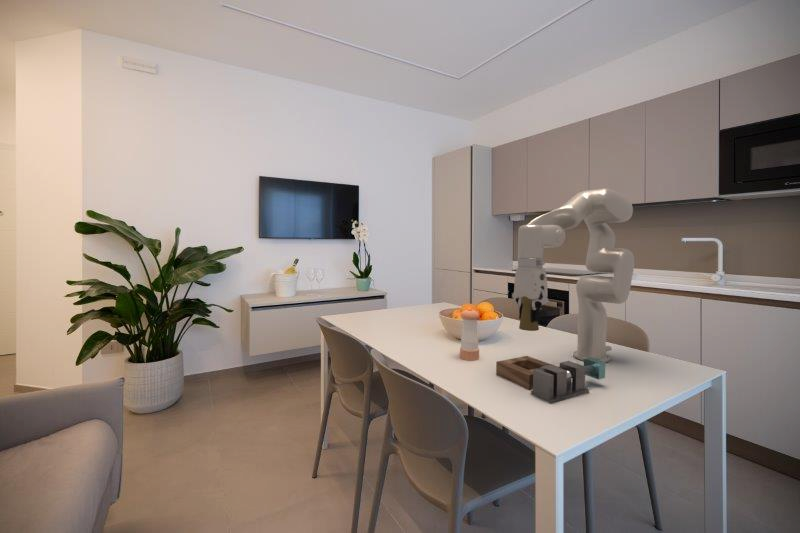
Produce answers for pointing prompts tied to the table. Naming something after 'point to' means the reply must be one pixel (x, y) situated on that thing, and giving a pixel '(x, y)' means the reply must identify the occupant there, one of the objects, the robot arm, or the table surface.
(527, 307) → the olive brown pear shape
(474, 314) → the salt shaker
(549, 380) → the shaft bracket
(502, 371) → the walnut holder
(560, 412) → the table surface
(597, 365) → the steel shaft
